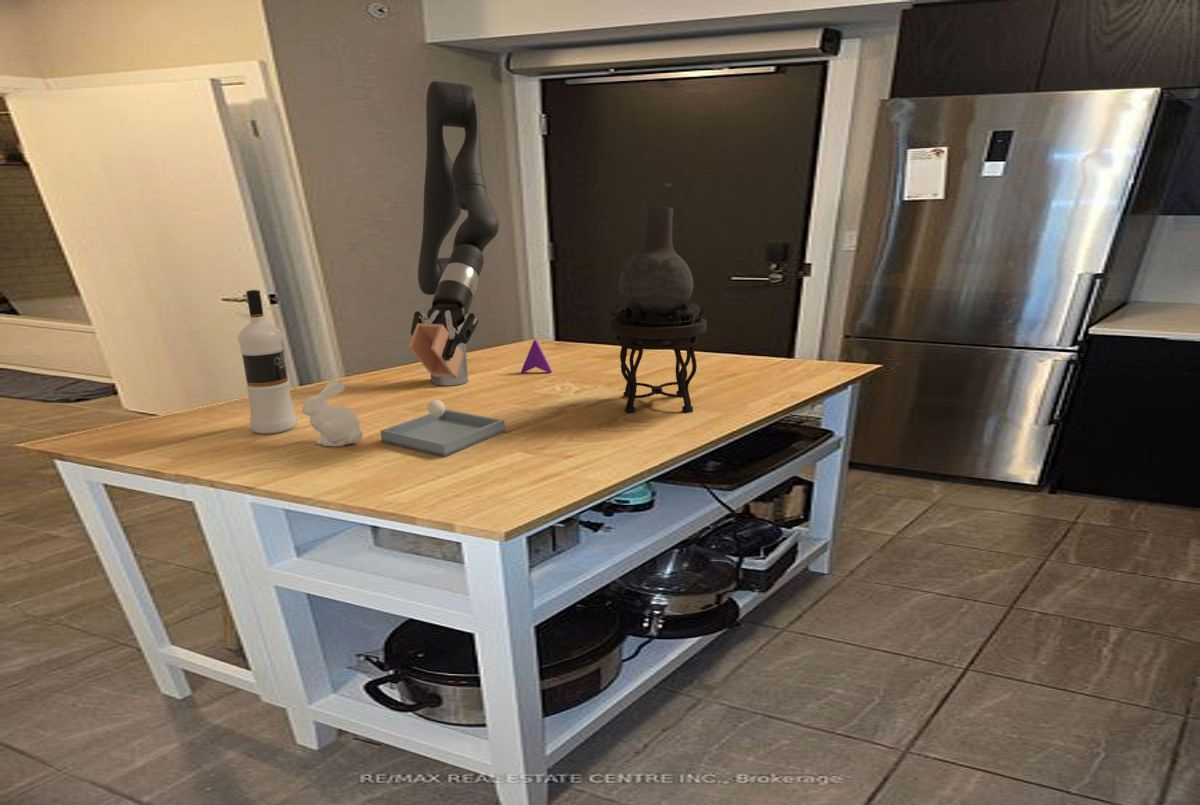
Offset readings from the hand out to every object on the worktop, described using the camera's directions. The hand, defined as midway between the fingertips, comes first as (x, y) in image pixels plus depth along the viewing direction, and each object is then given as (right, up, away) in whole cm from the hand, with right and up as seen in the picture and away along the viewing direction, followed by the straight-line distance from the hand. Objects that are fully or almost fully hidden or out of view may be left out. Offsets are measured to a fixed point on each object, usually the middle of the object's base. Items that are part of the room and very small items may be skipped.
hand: (431, 357), depth 133 cm
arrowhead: (+15, -1, +60) cm, 62 cm away
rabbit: (-21, -17, +5) cm, 27 cm away
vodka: (-38, -15, +14) cm, 43 cm away
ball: (0, -10, +3) cm, 10 cm away
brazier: (+47, -9, +27) cm, 55 cm away
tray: (+1, -16, +6) cm, 17 cm away
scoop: (+2, -1, +7) cm, 7 cm away
